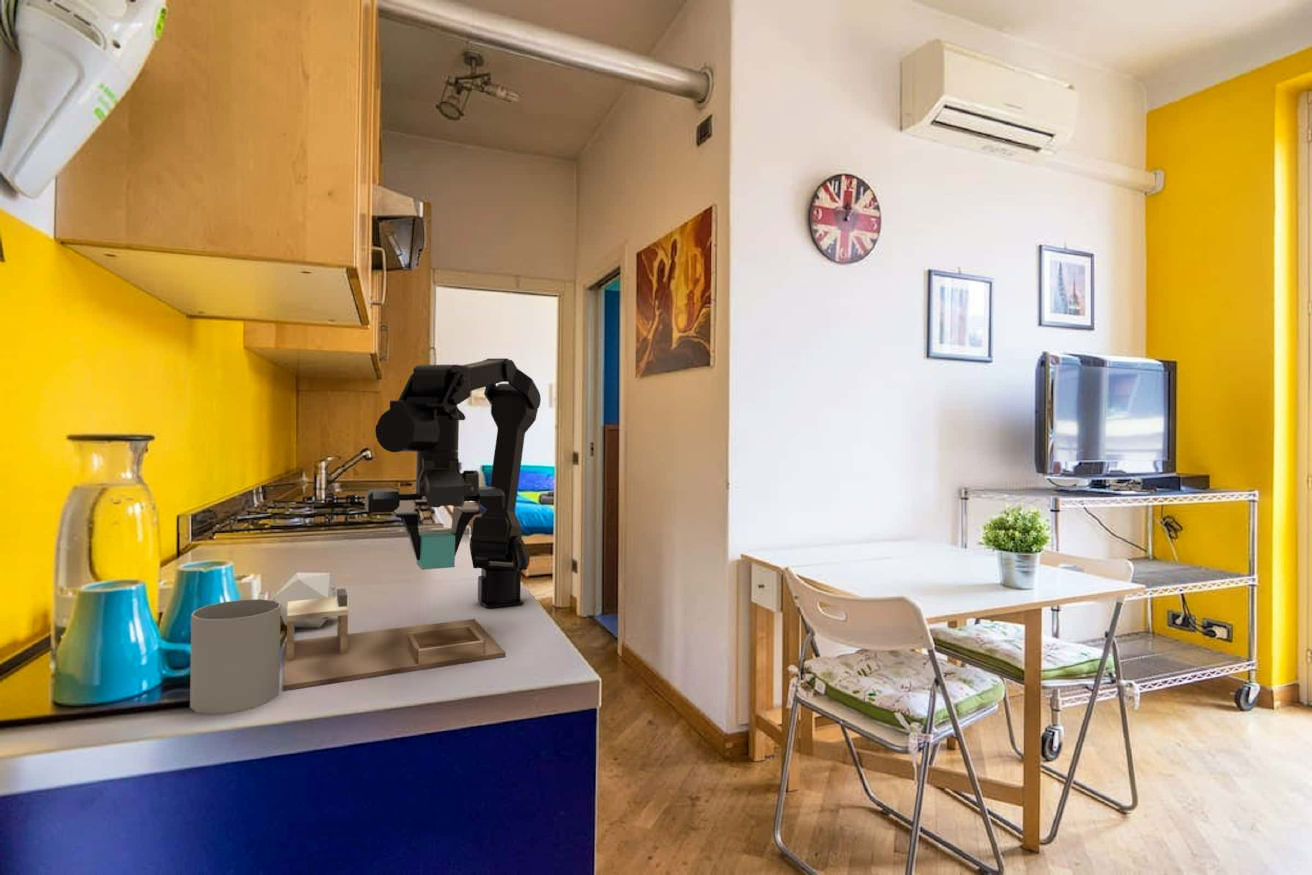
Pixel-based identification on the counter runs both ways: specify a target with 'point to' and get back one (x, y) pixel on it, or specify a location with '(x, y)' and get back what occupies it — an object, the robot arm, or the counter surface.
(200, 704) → the cup
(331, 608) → the bridge
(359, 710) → the counter surface
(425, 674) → the counter surface
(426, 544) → the block
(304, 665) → the board
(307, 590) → the die
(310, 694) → the counter surface
